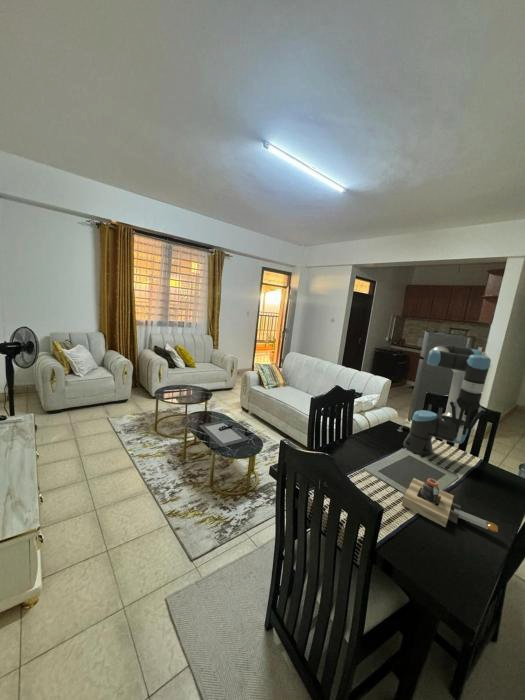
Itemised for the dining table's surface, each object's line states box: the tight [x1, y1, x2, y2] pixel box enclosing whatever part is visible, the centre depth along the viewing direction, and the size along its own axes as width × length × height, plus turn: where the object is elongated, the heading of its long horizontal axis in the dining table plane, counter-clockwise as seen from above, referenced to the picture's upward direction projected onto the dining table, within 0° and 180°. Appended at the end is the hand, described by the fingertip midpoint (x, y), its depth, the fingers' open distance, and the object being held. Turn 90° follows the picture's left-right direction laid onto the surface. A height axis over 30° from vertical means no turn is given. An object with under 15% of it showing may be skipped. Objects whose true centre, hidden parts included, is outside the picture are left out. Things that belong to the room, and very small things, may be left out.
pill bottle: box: [419, 477, 440, 505], centre depth 119 cm, size 6×6×11 cm
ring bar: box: [454, 508, 499, 533], centre depth 109 cm, size 4×1×14 cm
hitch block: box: [401, 477, 461, 528], centre depth 119 cm, size 18×19×4 cm
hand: (458, 439), depth 126 cm, fingers closed
